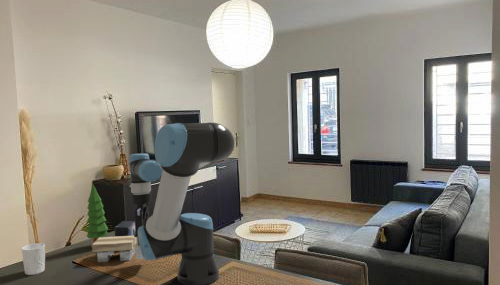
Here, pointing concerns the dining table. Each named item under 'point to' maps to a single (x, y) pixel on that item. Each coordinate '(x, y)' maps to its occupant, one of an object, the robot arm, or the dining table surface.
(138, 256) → the grey marble block
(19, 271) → the dining table surface
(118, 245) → the oak slab
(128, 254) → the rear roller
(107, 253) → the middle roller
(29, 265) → the white cup
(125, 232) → the small box
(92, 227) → the decorative tree
